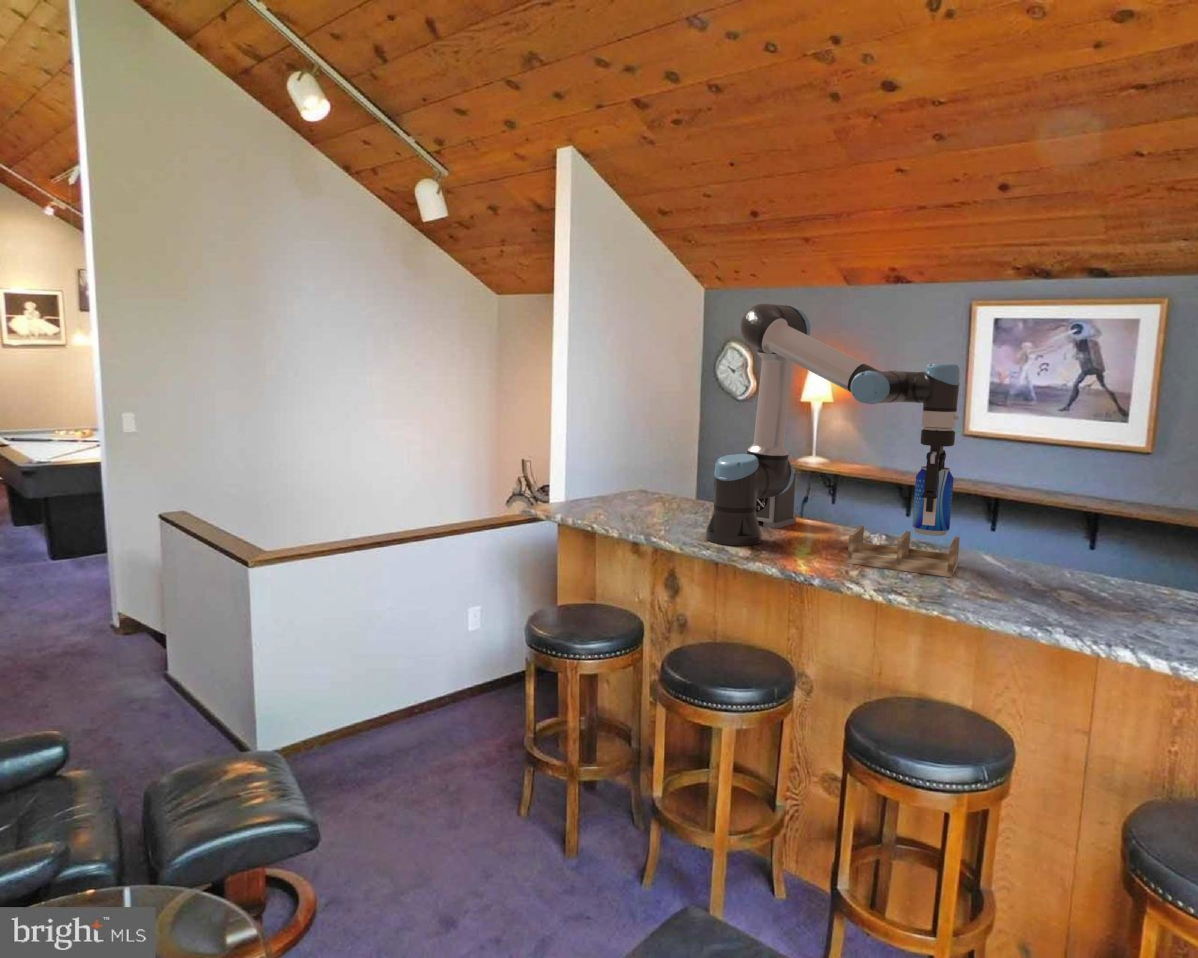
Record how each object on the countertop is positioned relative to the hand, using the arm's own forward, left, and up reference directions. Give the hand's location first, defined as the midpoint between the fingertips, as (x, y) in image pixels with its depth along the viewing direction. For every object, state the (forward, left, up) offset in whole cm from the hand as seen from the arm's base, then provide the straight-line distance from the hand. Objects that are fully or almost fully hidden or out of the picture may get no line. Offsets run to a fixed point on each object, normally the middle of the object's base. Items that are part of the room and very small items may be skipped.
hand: (931, 521), depth 195 cm
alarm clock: (-53, +32, -12) cm, 63 cm away
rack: (-6, 0, -12) cm, 13 cm away
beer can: (0, 0, -3) cm, 3 cm away
